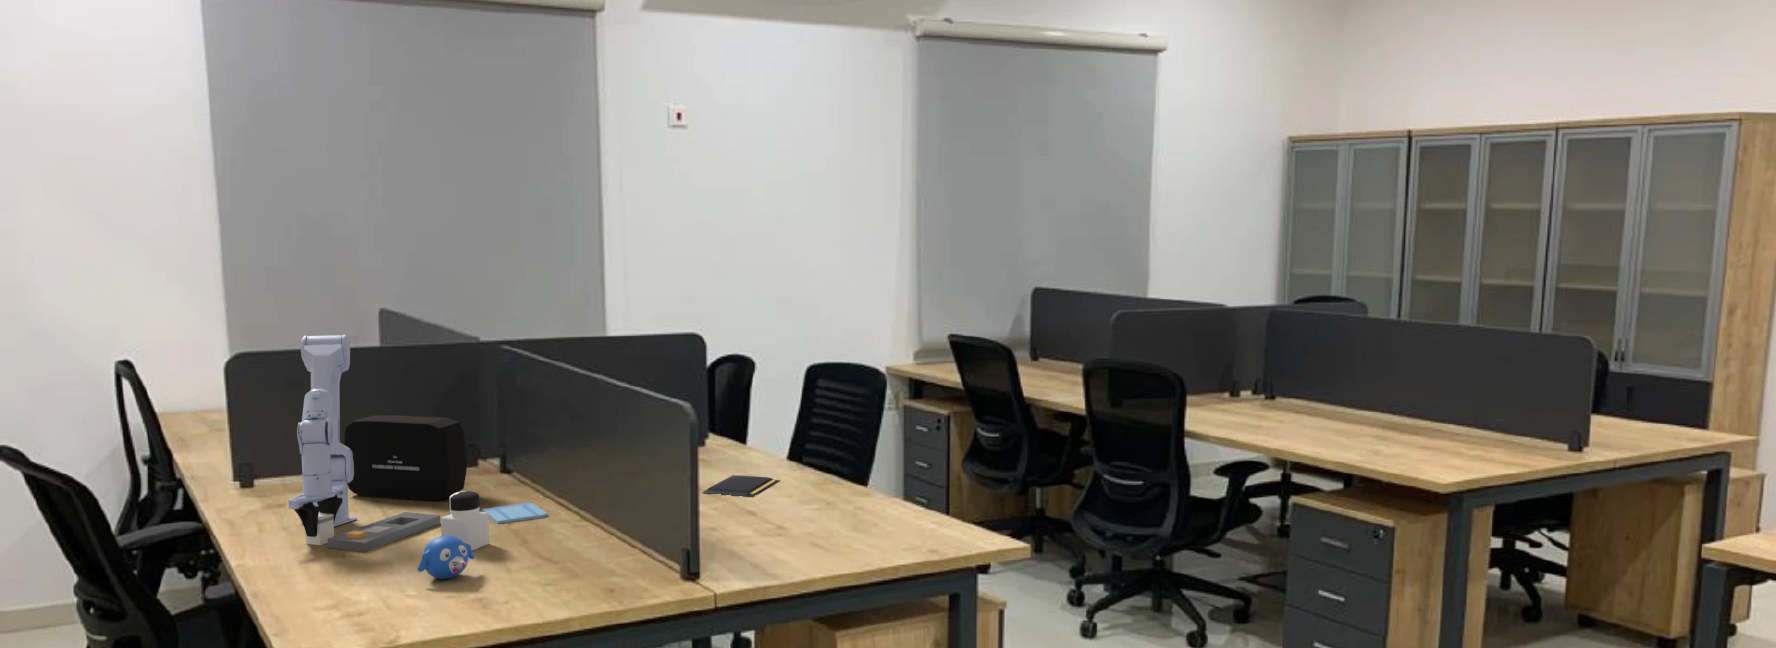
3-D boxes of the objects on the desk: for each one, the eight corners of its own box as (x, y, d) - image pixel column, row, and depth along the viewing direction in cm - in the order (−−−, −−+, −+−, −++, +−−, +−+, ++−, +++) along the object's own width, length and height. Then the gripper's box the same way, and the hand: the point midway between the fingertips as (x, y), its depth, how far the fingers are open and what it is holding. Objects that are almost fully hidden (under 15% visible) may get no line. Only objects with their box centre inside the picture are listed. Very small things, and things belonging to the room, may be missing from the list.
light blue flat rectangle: (548, 519, 279) (548, 513, 279) (497, 526, 273) (497, 520, 273) (532, 507, 291) (531, 502, 290) (482, 513, 284) (482, 508, 284)
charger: (305, 543, 256) (304, 517, 256) (319, 538, 260) (318, 512, 260) (320, 545, 255) (319, 518, 254) (334, 540, 259) (333, 514, 258)
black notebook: (731, 472, 322) (782, 476, 317) (731, 479, 322) (782, 483, 317) (698, 488, 303) (752, 493, 298) (698, 496, 303) (752, 500, 298)
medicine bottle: (490, 544, 256) (488, 490, 255) (468, 553, 249) (466, 498, 248) (463, 541, 258) (461, 488, 257) (441, 549, 252) (439, 495, 251)
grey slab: (365, 551, 250) (364, 538, 250) (327, 547, 253) (327, 534, 253) (440, 523, 273) (440, 511, 272) (405, 520, 276) (405, 507, 276)
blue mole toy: (437, 593, 223) (436, 550, 222) (407, 580, 231) (405, 539, 230) (494, 578, 232) (493, 537, 231) (463, 566, 240) (461, 526, 239)
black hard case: (344, 496, 300) (341, 419, 298) (376, 485, 311) (373, 411, 310) (448, 503, 292) (445, 424, 291) (476, 492, 304) (474, 416, 302)
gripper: (305, 481, 248) (308, 543, 249) (356, 467, 262) (358, 526, 263) (279, 479, 250) (282, 541, 251) (331, 465, 264) (333, 524, 265)
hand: (319, 533), depth 257 cm, fingers closed on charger, 4 cm apart
